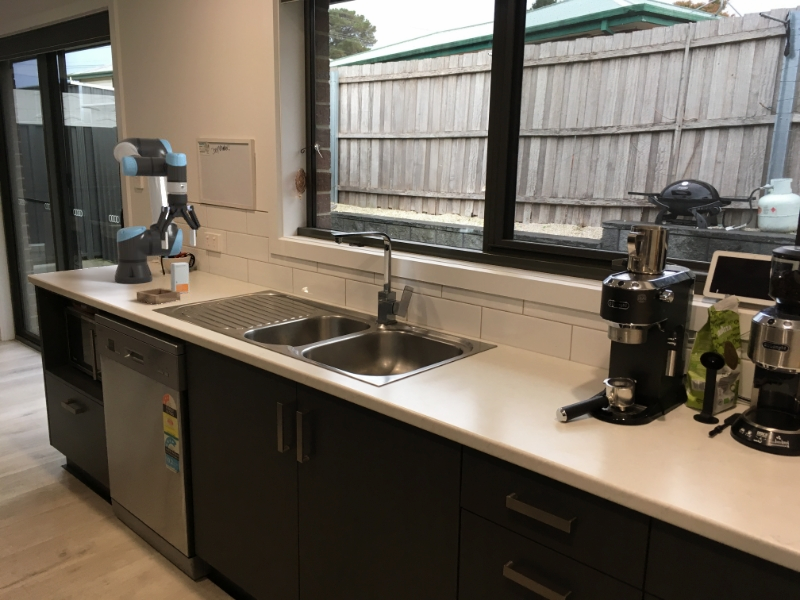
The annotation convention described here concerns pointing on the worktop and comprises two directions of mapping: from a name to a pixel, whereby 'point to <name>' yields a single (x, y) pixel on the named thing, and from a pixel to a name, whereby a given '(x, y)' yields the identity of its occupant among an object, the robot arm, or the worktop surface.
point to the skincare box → (180, 277)
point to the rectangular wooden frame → (158, 296)
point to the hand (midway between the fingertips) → (179, 247)
